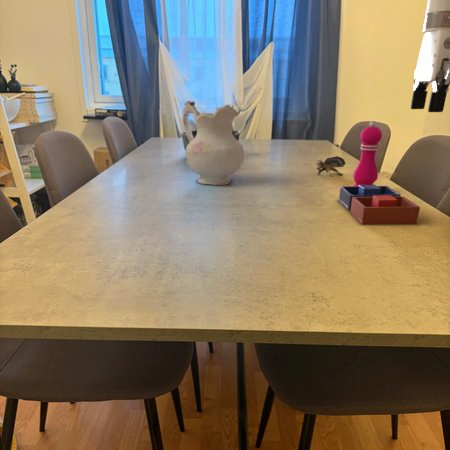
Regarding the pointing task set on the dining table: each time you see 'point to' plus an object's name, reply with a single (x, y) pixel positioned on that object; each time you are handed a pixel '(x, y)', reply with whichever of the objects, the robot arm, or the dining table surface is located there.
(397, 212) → the red bin
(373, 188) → the blue block
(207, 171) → the ceramic pitcher
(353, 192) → the blue bin
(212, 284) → the dining table surface
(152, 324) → the dining table surface
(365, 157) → the pepper mill
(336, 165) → the brown insect figurine
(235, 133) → the bundt pan
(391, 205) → the red block
